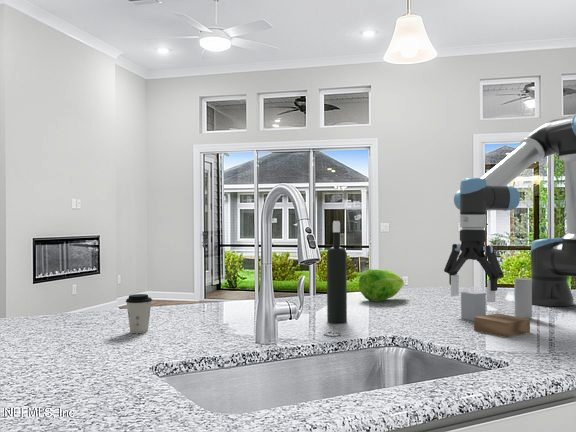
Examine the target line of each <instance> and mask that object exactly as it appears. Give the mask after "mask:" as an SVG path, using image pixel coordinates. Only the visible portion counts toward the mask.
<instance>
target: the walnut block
mask: <svg viewBox="0 0 576 432" xmlns="http://www.w3.org/2000/svg"><path fill="white" fill-rule="evenodd" d="M473 331H475V332H481V333H485V334H489V335H493V336H498V337H503V338H512V337H516V336H520V335H521V334H522V335H525V334H526V333H527V334H530V333H531V318H530V319H527V318H521V317H515V315H509V314H508V315H507V314H503V313H491V314H486V315H484V316H477V317H474V321H473Z"/></svg>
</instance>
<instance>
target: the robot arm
mask: <svg viewBox="0 0 576 432" xmlns="http://www.w3.org/2000/svg"><path fill="white" fill-rule="evenodd" d="M554 154H558V158H559V159H560V160H561V161H563V163H564V165H563V166H564V184H565V185H564V186H565V187H564V188H565V212H566V215H565V216H566V233H565V235H563V236H562V237H554V238H553V237H552V238H542V239H535V240H533V241H532V243H531V246H530V269H531V270H530V271H531V275H530V276H531V277H530V279H531V281H532V305H535V306H542V307H543V306H545V307H546V306H547V307H571V306H574V305H575V304H574V303H575V302H574V296H573V294H572V290H571V288H570V285H569V281H568V279H569V277H574V278H576V114H574V115H569V116H566V117H562V118H557V119H553V120H549V121H546V122H545V123H544V124H542V125H540V126H539V127H537V128H536V129H534V130H533V131H532V132H530V133H529V134H528V135H526V136H525V137H524V138H522V140H521V141H520V143H519V145H518V146H517V148H515V149H514V150H513V151H511V152H510V153H509V154H508V155H507V156H506V157H504V158H503V159H502V160H501V161H500V162H498V163H497V164H496V165H495V166H493V167H492V168H491V169H489V170H488V171H487V172H486V173H485V174H484V175H482V176H481V177H468V178H463V179H461V181H460V185H459V190H458V191H456V192H455V194H454V196H453V202H454V203H453V204H454V205H455V207H456V208H457V209H458V211H459V228H461V229H460V230H459V241H460V242H461V243H453V244H452V247H451V252H450V254H449V256H448V259H447V262H446V264H445V265H444V266H445V267H444V269H443V271H444V272H445V273H447V274H448V276H449V281H448V282H449V285H450V297H458V296H459V295H460V293H459V291H460V289H459V288H460V287H459V285H460V284H459V282H460V280H459V279H460V276H459V274H458V272H459V271H460V270H461V268H462V267H463V265H464V264H465V263H466V261H468V260H472V261H477V263H479V265H480V266H481V268H482V269H483V270H484V273H485V274H486V275H487V276H488V279H486V283H487V284H486V303H495V302H496V292H497V290H498V280H499V279H503V278H504V276H505V275H504V273H503V269H502V268H501V265H500V263H499V260H498V257H497V254H496V252H495V246H494V245H486V246H485V243H486V240H487V230H486V228H487V211H504V212H505V211H513V210H515V209H517V208H518V206H519V205H520V201H521V198H520V197H521V196H520V195H521V194H520V192H519V191H518V189H517V188H515V187H514V186H508V185H509V184H510V183H511V182H513V181H514V180H515V179H516V178H517V177H518V176H519V175H521V174H522V173H523V172H524V171H525V170H527V169H528V168H529V167H530V166H532V164H534V163H538V162H540V161H542V160H544V159H545V158H547V157H548V156H552V155H554Z"/></svg>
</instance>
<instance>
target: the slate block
mask: <svg viewBox="0 0 576 432" xmlns="http://www.w3.org/2000/svg"><path fill="white" fill-rule="evenodd" d="M486 305H487V292H481V291H474V290H470V291H461V292H460V308H461V310H460V311H461V312H460V315H461V316H460V317H461V319H462V320H467V321H472V322H474V317H477V316H484V315H487V309H486V308H487V306H486Z"/></svg>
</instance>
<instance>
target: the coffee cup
mask: <svg viewBox="0 0 576 432" xmlns="http://www.w3.org/2000/svg"><path fill="white" fill-rule="evenodd" d="M152 301H153V299H152V297H150V296H149V294H145V293H142V294H141V293H140V294H139V293H137V294H130V295H128V298H126V300H125V302H126V308H127V316H128V317H127V318H128V326H129V331H130V332H131V333H130V332H129V333H130V334H132V333H136V334H135V335H139V334H138V333H142V334H147V333H148V331H149V326H150V325H149V323H150V316H151V308H152ZM146 332H147V333H146Z"/></svg>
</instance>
